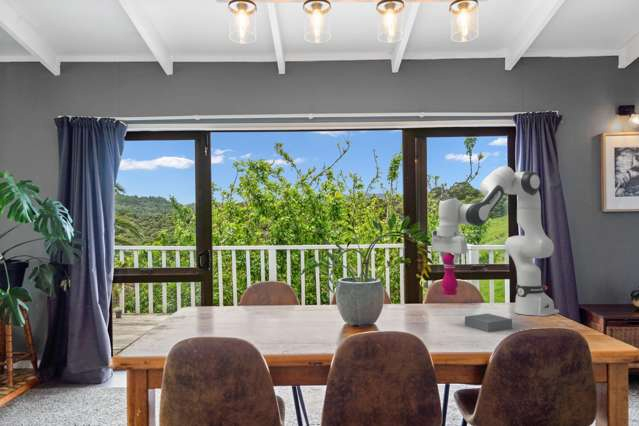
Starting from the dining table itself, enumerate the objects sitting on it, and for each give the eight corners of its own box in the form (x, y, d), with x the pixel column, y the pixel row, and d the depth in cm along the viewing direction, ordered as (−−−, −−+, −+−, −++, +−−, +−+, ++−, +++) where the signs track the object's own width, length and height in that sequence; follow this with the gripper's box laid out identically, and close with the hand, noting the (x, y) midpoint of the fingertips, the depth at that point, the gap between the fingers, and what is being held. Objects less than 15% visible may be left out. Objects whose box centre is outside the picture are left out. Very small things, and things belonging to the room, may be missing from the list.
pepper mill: (458, 295, 210) (458, 250, 211) (442, 295, 212) (441, 250, 212) (457, 292, 218) (456, 249, 218) (441, 292, 219) (440, 249, 219)
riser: (488, 322, 219) (487, 313, 219) (512, 328, 207) (511, 319, 207) (464, 325, 213) (464, 316, 213) (488, 332, 201) (488, 322, 201)
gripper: (470, 232, 207) (471, 264, 207) (439, 231, 225) (440, 260, 225) (459, 233, 204) (460, 265, 204) (429, 232, 223) (429, 261, 223)
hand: (449, 262), depth 215 cm, fingers closed on pepper mill, 6 cm apart
